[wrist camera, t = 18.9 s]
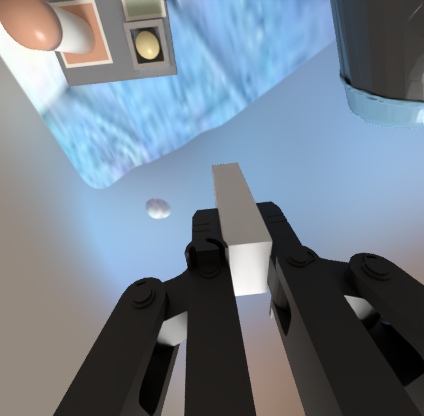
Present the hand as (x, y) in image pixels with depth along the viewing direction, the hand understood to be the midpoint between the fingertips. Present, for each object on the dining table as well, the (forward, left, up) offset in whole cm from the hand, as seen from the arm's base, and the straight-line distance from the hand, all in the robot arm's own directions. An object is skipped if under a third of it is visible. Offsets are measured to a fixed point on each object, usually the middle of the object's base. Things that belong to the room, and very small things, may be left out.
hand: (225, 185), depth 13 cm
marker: (+16, -11, -26) cm, 32 cm away
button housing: (+7, -9, -26) cm, 28 cm away
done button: (+7, -9, -24) cm, 27 cm away
